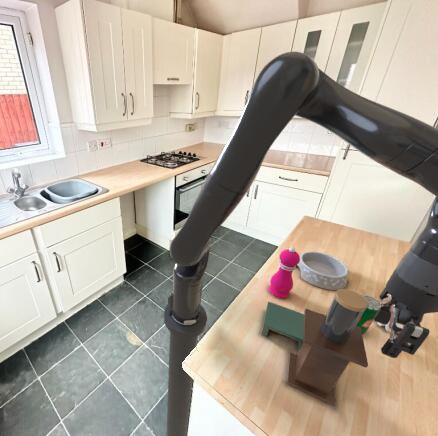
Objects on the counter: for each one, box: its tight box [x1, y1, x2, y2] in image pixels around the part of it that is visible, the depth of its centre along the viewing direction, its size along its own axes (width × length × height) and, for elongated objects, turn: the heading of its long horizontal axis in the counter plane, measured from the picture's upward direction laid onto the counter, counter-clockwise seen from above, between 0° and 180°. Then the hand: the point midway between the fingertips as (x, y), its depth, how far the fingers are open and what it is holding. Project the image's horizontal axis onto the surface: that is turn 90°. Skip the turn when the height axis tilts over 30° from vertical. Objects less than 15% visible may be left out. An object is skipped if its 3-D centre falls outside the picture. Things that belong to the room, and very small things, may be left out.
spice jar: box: [320, 288, 368, 344], centre depth 52 cm, size 5×5×11 cm
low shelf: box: [260, 301, 304, 351], centre depth 74 cm, size 12×10×5 cm
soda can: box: [356, 294, 381, 335], centre depth 72 cm, size 5×5×12 cm
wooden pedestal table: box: [286, 308, 369, 407], centre depth 58 cm, size 11×10×18 cm
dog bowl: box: [296, 250, 349, 291], centre depth 96 cm, size 17×18×5 cm
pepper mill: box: [269, 246, 300, 299], centre depth 84 cm, size 7×7×20 cm
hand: (383, 337), depth 50 cm, fingers open, 8 cm apart
